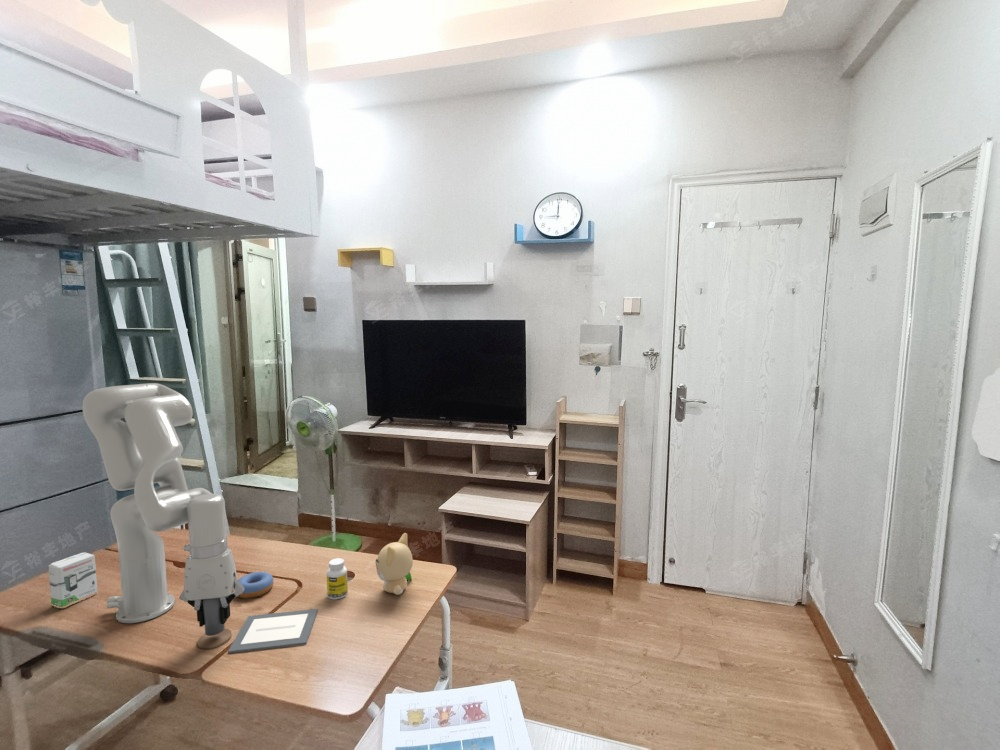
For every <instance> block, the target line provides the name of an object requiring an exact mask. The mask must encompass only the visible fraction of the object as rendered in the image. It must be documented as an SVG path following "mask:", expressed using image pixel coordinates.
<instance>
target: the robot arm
mask: <svg viewBox="0 0 1000 750" xmlns="http://www.w3.org/2000/svg"><path fill="white" fill-rule="evenodd" d="M193 412H194V411H193V408H192V404H191V403H190V401H189V400H188V399H187V397H185V396H184V395H183V394H181V393H180V392H178V391H177V390H174V389H172V388H170V387H168V386H166V385H163V384H161V383H155V382H152V383H151V382H149V383H139V384H125V385H124V384H123V385H115V386H114V385H113V386H106V387H102V388H101V387H100V388H97V389H95V390H92V391H89V392H88V393H87V394H86V395H85V396H84V398H83V400H82V415H83V418H84V421H85V422H86V425H87V427H88V428H89V430H90V431H91V433H92V435H94V437H95V439H96V441H97V443H98V446H99V450H100V454H101V457H102V462H103V465H104V469H105V471H106V475H107V478H108V482H109V484H110V485H111V487H112V488H113V489H114V490H116V491H120V492H121V491H124V492H125V491H128V490H134V491H133V492H134V493H133V494H129V495H128V496H127V495H126V496H124V497H122V498H120V499H118V500H117V501H116V502H115V503H113V505H112V506H111V509H110V512H109V513H110V520H111V524H112V526H113V530H114V533H115V538H116V543H117V548H118V549H117V552H118V562H119V572H120V583H121V585H120V586H121V595H119V596H118V595H114V596H109V597H108V598H107V600H106V609H115V608H117V611H116V612H115V619H116V621H117V620H118V621H117V622H119V623H122V624H136V623H141V622H145V621H146V622H147V621H149V620H152V619H155V618H157V617H159V616H161V615H164V614H165V613H167V612H168V611H169V610H171V608H172V607H173V606H174V605H175V602H176V601H175V600H176V599H175V598H176V597H175V595H173V594H171V593H168V584H167V570H166V555H165V545H164V544H165V543H164V540H163V538H162V536H160V535H159V534H158V533H159V532H161V533H162V532H165V531H169V530H171V529H174V528H177V527H180V526H183V525H186V524H188V525H187V526H188V537H189V539H188V540H189V541H188V542H189V543H188V544H185V545H183V551H184V552H189V555H188V556H187V557H186V560H185V566H184V577H183V589H182V591H181V594H180V595H179V597H178V599H179V600H181V601H183V602H186V603H187V604H188V605H190V606H191V607H192V608H193V610H194V611H196V620H197V622H198V624H199V627H200V628H201V627H203V626H204V627H205V625H204V611H203V600H204V599H213V598H220V601H221V604H222V607H221V608H220V622H221V624H224V625H225V623H226V622H227V620H228V619H229V618H230V617H231V604H230V603H232V602H233V601H234V599H235V598H236V597H237V598H238V595H240V594H241V593H242V592H243V591H244V589H245V588H244V587H243V586H242V584H241V583H240V582H239V581H238V580H239V579H238V575H237V569H236V564H235V559H234V556H233V553H232V549H231V548H228V547H229V546H228V533H227V531H228V530H227V519H226V517H227V515H226V501H225V498H224V496H223V495H222V494H220V493H212V492H211V491H209V490H208V489H206V488H204V487H196V488H191V489H189V488H188V485H187V481H186V477H185V475H184V474H185V473H184V469H183V467H182V462H181V460H180V458H179V457H180V456H181V454H182V453H184V452H183V451H184V447H183V446H184V445H183V444H182V441H181V440H180V438H179V436H178V434H177V432H176V429H175V427H180V426H185V425H187V424H189V423H190V422H191V421H192V418H193V415H194V414H193ZM121 419H124V420H125V421H124V420H121ZM154 484H158V486H159V487H156V488H155V485H154ZM157 532H158V533H157ZM233 590H234V591H233Z"/></svg>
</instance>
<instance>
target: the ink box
mask: <svg viewBox="0 0 1000 750" xmlns="http://www.w3.org/2000/svg"><path fill="white" fill-rule="evenodd" d="M95 557H96V556H95V555H94V554H91V553H89V552H86V551H85V552H80V553H78V554H74V555H71V556H68V557H66V558H63V559H61V560H57V561H54V562H52V563H50V564H49V565H48V577H49V589H50V590H49V591H50V603H51V604H53V605H56V606H59V607H63V606H66V605H68V604H70V603H72V602H74V601H77V600H79V599H81V598H84V597H86V596H89V595H91V594H94V593H95V592H97V593H98V584H97V583H98V581H97V570H96V567H97V566H96V558H95Z"/></svg>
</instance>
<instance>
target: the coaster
mask: <svg viewBox="0 0 1000 750" xmlns="http://www.w3.org/2000/svg"><path fill="white" fill-rule="evenodd" d="M232 634H233V633H232V631H231V629H229V628H224V630H223V631H222V632H221V633H219V634H216V635H212V636H207V635H206V634H205V633H203V634H202V635H201V636H200V637H199V638H198V640H197V647H198V648H199V649H202V650H211V649H216V648H218V647H220V646H223V645H224V644H226V643H228V642H229V641H230V639H231V638H232Z"/></svg>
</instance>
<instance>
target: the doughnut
mask: <svg viewBox="0 0 1000 750" xmlns="http://www.w3.org/2000/svg"><path fill="white" fill-rule="evenodd" d="M237 580H238V581H239V582H240V583H241V584H242V586H243V587H244V588H245V589H244V591H243V592H242V593H241V594H240V595H238V596H237V598H242V599H254V598H257V597H260V596H263V595H265V594H266V593H268V592H269V591H270V590H271V589H272V588H273V585H274V577H273V575H272V574H270V573H269V572H266V571H255V572H250V573H247V574H245V575H243V576H241V577H239V579H237Z"/></svg>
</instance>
